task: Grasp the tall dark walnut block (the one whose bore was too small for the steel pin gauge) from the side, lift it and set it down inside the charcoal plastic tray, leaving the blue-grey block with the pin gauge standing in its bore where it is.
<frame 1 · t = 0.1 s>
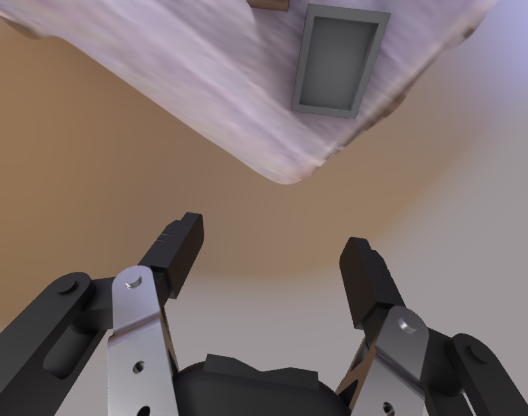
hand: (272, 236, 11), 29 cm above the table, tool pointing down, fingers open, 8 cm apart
tray: (331, 67, 30), on the table
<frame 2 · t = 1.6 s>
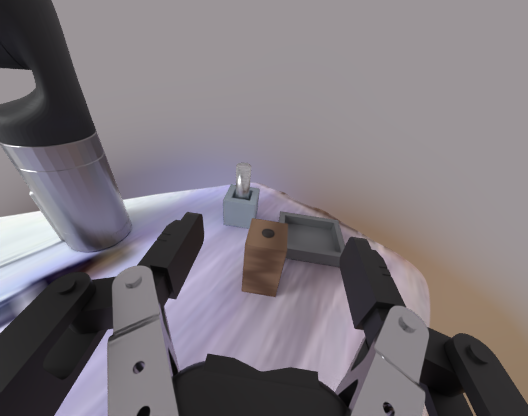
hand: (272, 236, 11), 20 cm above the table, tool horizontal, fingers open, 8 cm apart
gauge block: (241, 217, 43), on the table
tray: (307, 241, 40), on the table
walnut block: (260, 279, 32), on the table
pin gauge: (242, 194, 40), in the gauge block
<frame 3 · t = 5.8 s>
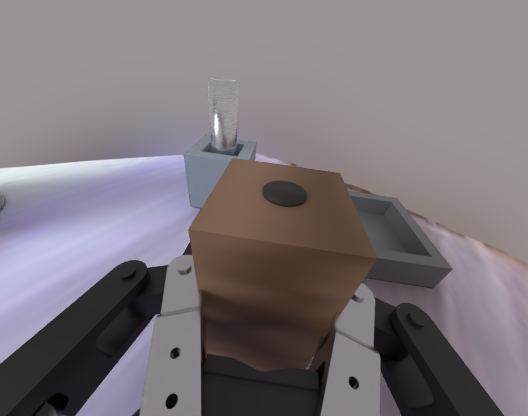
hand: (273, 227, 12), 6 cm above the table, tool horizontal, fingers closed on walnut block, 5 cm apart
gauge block: (224, 195, 25), on the table
tray: (347, 235, 21), on the table
walnut block: (259, 323, 13), on the table, touching gripper
pin gauge: (224, 147, 21), in the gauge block
when the fingers open (8 cm above the table, at t = 11.2 s): walnut block drops 2 cm, resting on tray.
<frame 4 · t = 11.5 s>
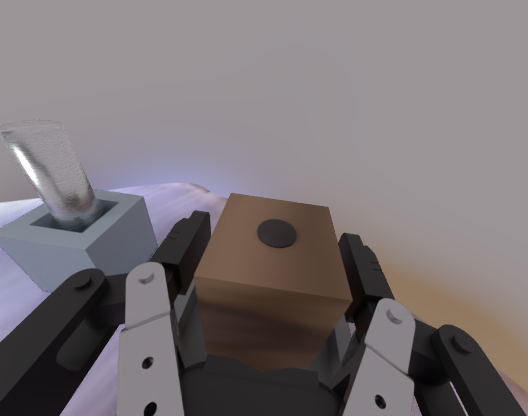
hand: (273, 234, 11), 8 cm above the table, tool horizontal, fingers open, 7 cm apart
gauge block: (107, 265, 18), on the table
tray: (255, 339, 15), on the table
walnut block: (256, 337, 14), point 1 cm above the table, touching tray
pin gauge: (78, 212, 15), in the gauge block
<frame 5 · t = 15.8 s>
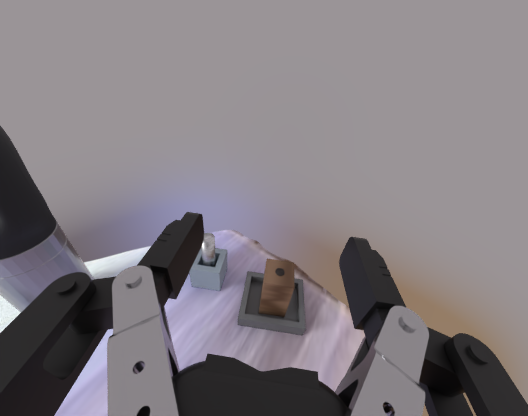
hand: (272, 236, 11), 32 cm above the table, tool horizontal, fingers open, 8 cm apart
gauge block: (210, 276, 45), on the table
tray: (271, 303, 41), on the table
walnut block: (272, 302, 41), point 1 cm above the table, touching tray
pin gauge: (209, 258, 41), in the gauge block
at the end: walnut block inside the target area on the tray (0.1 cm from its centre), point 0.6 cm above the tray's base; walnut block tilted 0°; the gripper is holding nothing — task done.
